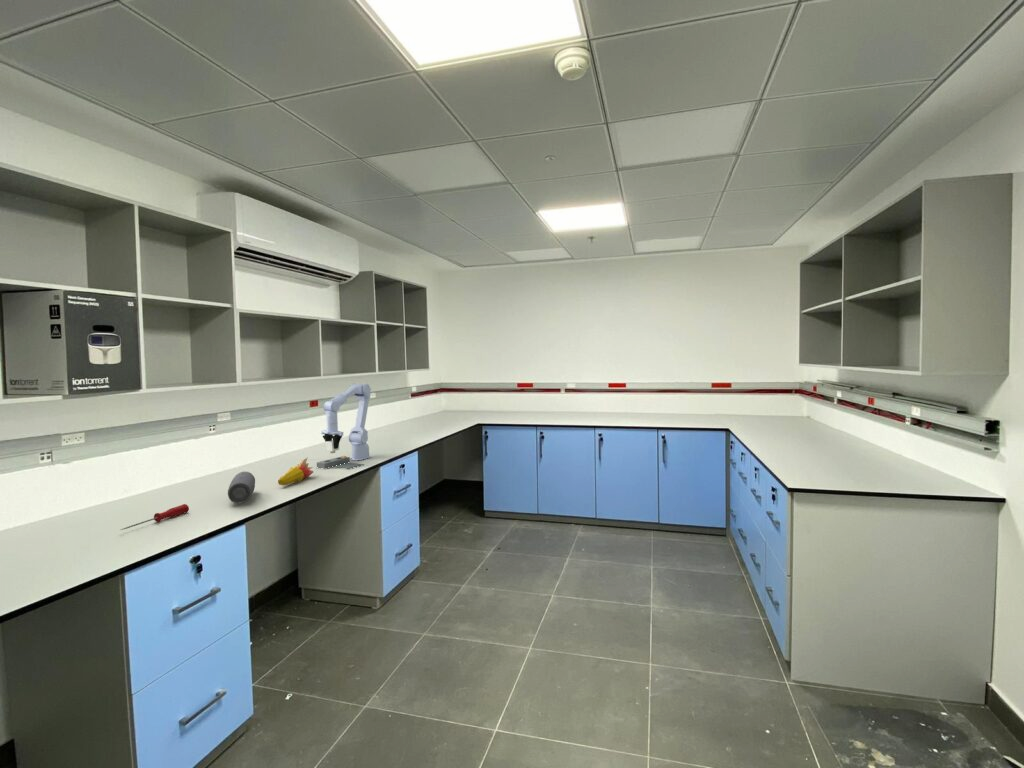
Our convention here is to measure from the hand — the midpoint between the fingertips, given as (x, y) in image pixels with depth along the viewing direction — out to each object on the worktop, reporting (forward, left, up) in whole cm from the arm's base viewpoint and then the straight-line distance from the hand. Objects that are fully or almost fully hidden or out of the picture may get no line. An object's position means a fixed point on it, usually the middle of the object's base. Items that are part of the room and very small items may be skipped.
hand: (332, 448), depth 268 cm
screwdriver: (+95, +13, -10) cm, 97 cm away
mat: (-4, +8, -10) cm, 13 cm away
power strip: (-3, -2, -10) cm, 11 cm away
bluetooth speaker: (+62, +14, -10) cm, 65 cm away
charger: (0, 0, -3) cm, 3 cm away
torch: (+32, +9, -10) cm, 35 cm away
